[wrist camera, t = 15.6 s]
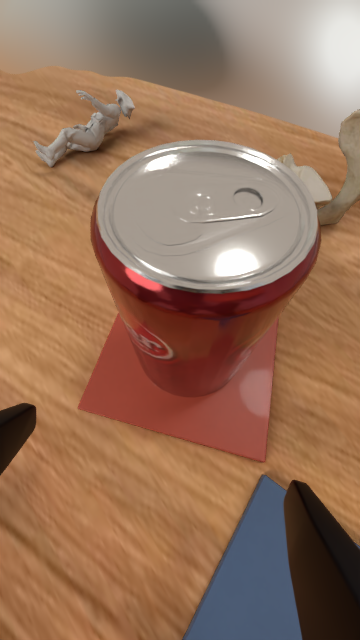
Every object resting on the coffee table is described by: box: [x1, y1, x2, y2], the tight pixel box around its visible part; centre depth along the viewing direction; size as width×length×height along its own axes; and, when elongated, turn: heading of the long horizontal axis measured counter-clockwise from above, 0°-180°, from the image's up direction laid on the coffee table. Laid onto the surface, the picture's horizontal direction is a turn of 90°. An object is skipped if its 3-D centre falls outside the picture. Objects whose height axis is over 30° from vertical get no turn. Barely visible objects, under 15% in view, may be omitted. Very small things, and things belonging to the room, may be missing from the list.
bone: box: [277, 109, 360, 226], centre depth 22 cm, size 9×6×10 cm
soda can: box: [90, 140, 321, 398], centre depth 13 cm, size 7×7×12 cm
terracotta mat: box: [78, 313, 279, 462], centre depth 19 cm, size 12×12×1 cm
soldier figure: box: [33, 90, 135, 167], centre depth 29 cm, size 8×5×12 cm
